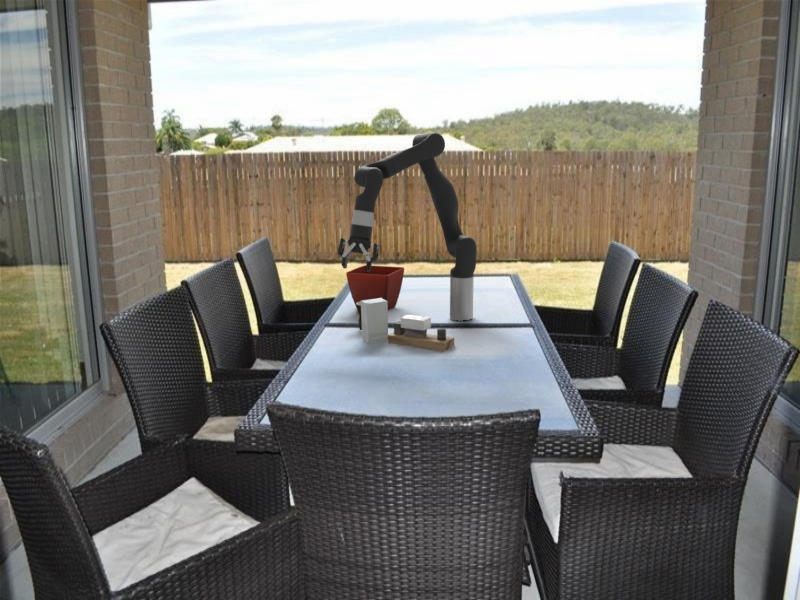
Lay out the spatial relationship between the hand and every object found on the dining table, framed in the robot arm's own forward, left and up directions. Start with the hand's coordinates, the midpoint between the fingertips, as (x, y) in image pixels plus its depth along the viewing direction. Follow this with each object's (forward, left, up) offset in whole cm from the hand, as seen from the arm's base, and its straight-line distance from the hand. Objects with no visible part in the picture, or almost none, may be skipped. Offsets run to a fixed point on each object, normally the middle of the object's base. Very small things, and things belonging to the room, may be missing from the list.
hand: (355, 270), depth 263 cm
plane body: (-5, +23, -25) cm, 35 cm away
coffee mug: (-16, -5, -26) cm, 31 cm away
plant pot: (-45, -19, -26) cm, 55 cm away
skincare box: (-2, +6, -26) cm, 27 cm away
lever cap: (-5, +21, -19) cm, 29 cm away
